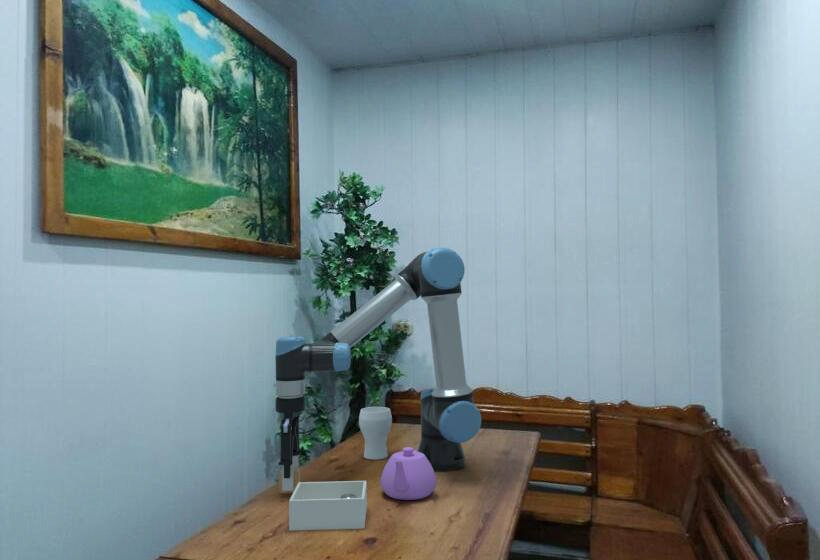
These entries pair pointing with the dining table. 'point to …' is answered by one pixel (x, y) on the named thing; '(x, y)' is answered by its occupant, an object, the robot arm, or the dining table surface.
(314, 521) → the tub
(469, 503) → the dining table surface
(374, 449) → the cup
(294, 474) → the lid
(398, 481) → the teapot
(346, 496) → the slug
